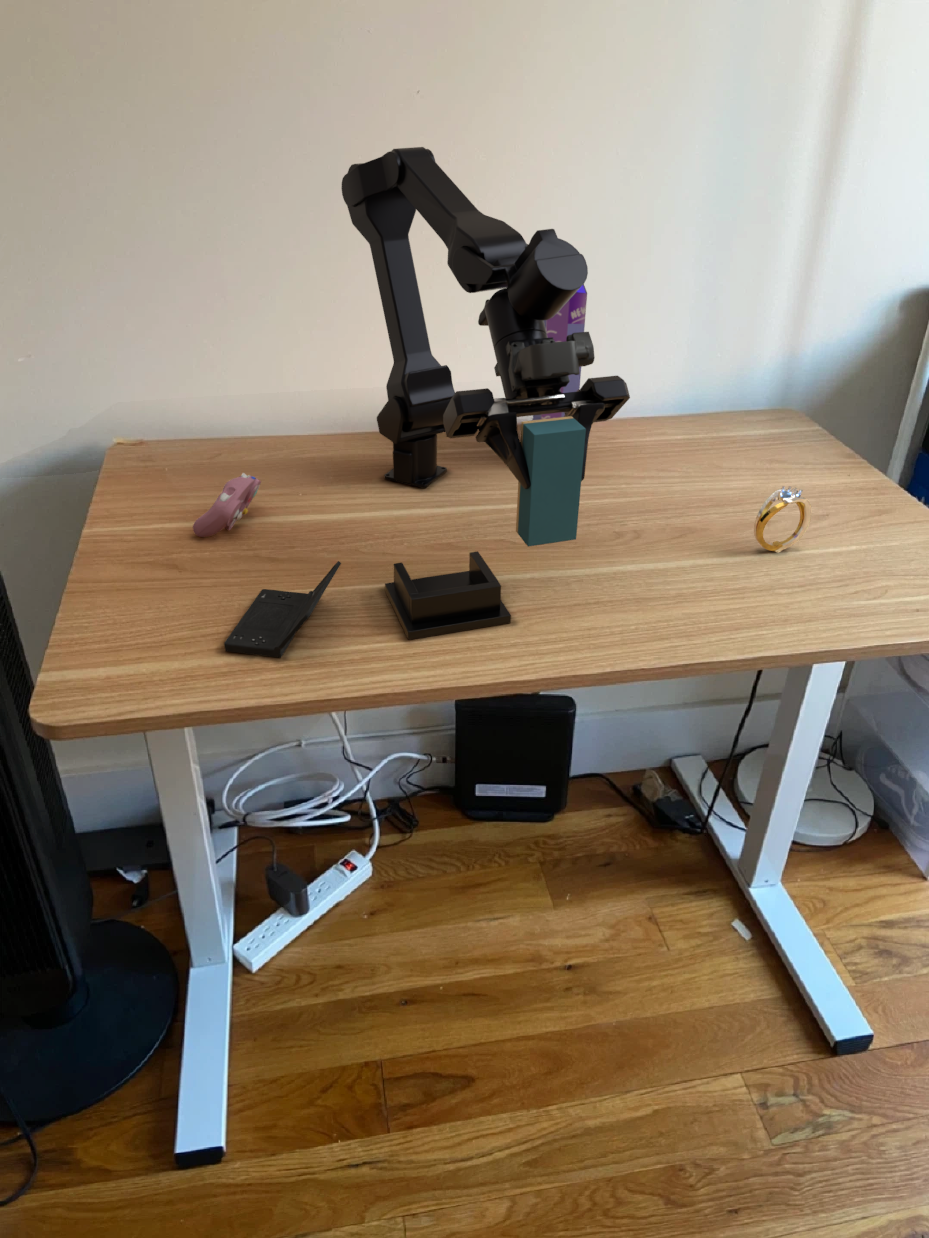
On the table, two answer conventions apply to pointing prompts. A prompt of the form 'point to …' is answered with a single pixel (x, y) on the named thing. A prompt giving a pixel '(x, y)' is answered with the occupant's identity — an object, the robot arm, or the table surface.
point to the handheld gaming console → (275, 620)
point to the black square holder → (447, 600)
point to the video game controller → (228, 506)
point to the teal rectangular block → (550, 480)
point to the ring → (766, 515)
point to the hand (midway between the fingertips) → (554, 484)
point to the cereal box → (562, 326)
